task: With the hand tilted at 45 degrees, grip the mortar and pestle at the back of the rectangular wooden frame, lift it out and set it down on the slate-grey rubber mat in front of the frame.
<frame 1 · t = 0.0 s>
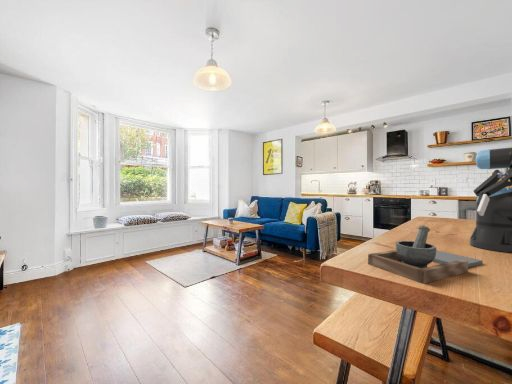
hand: (509, 216, 69), 15 cm above the table, tool tilted 35°, fingers open, 13 cm apart
mortar and pestle: (415, 268, 70), resting in rectangular wooden frame
rectangular wooden frame: (415, 267, 70), on the table
slate mat: (445, 259, 78), on the table
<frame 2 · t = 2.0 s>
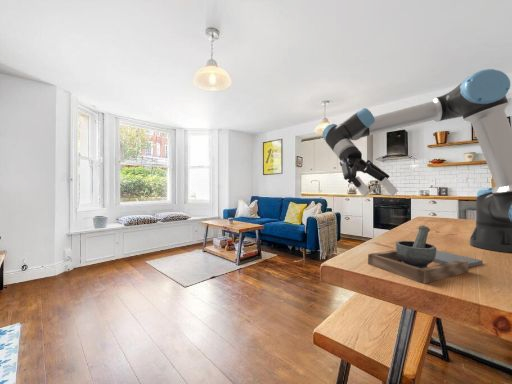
hand: (381, 193, 80), 21 cm above the table, tool tilted 45°, fingers open, 13 cm apart
nothing on the table moved.
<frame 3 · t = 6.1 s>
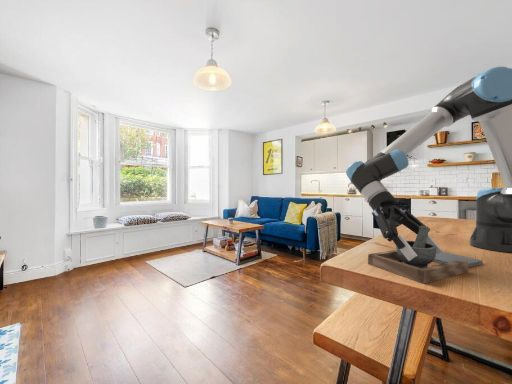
hand: (426, 255, 67), 4 cm above the table, tool tilted 45°, fingers closed on mortar and pestle, 11 cm apart
mortar and pestle: (415, 268, 70), resting in rectangular wooden frame, touching gripper
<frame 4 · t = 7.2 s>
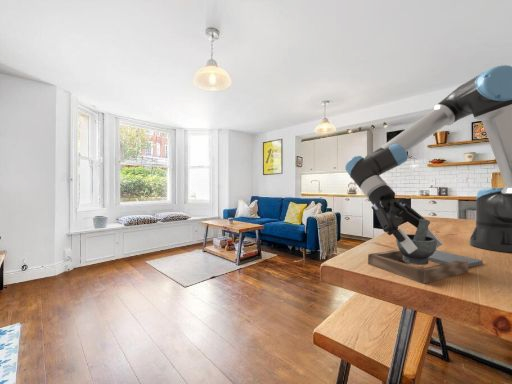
hand: (426, 248, 67), 6 cm above the table, tool tilted 45°, fingers closed on mortar and pestle, 11 cm apart
mortar and pestle: (416, 261, 70), point 2 cm above the table, touching gripper
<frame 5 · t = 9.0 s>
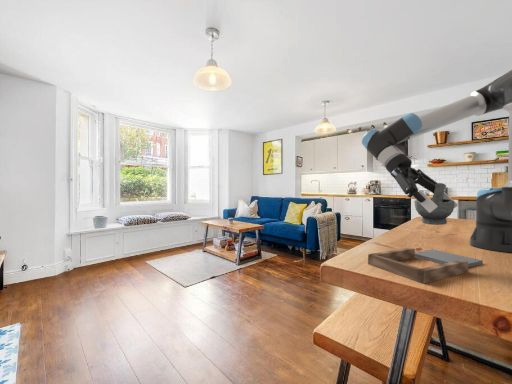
hand: (444, 208, 72), 17 cm above the table, tool tilted 45°, fingers closed on mortar and pestle, 10 cm apart
mortar and pestle: (435, 222, 75), point 12 cm above the table, touching gripper
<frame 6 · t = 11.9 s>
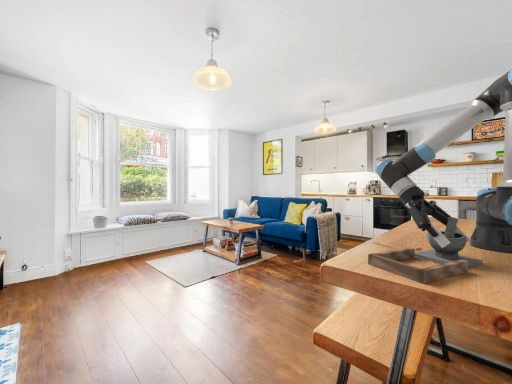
hand: (456, 243, 75), 6 cm above the table, tool tilted 45°, fingers closed on mortar and pestle, 10 cm apart
mortar and pestle: (447, 255, 78), point 1 cm above the table, touching gripper
when the fingers open (6 cm above the table, at t = 12.6 s): mortar and pestle moves 2 cm, resting on slate mat.
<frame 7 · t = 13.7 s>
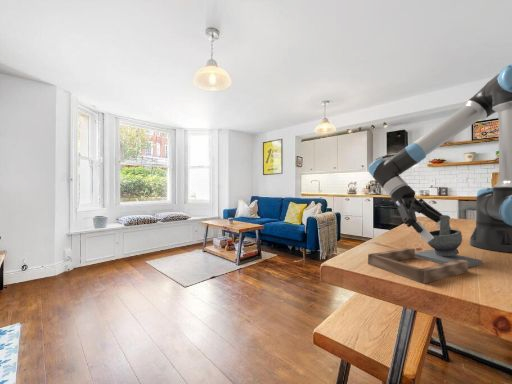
hand: (442, 238, 78), 7 cm above the table, tool tilted 45°, fingers open, 13 cm apart
mortar and pestle: (447, 253, 79), point 2 cm above the table, touching gripper, slate mat
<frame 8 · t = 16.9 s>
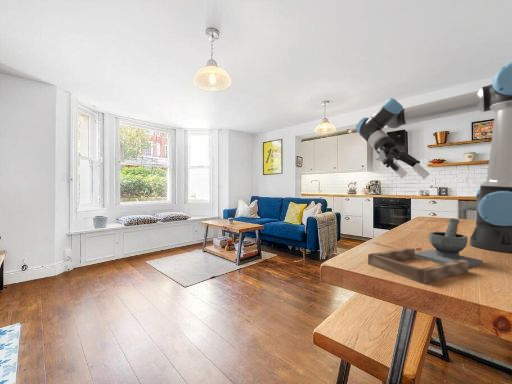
hand: (415, 176, 92), 28 cm above the table, tool tilted 45°, fingers open, 13 cm apart
mortar and pestle: (447, 255, 79), point 1 cm above the table, touching slate mat
at the end: mortar and pestle inside the target area on the slate mat (2.6 cm from its centre), point 0.8 cm above the slate mat's base; mortar and pestle tilted 0°; the gripper is holding nothing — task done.
